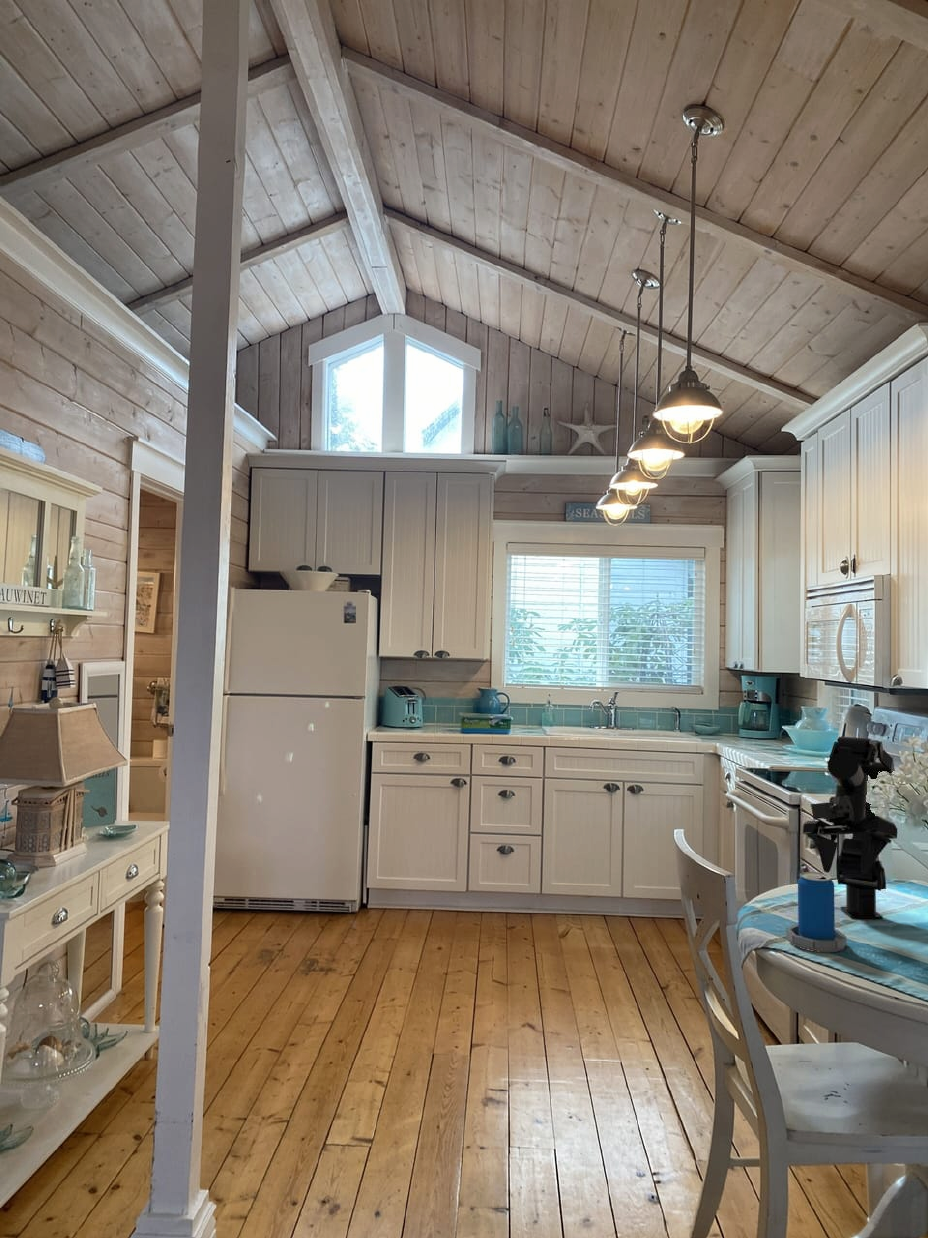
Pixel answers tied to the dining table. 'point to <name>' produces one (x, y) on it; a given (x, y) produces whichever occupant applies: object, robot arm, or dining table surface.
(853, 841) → the robot arm
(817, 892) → the beverage can
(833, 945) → the tray
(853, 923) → the dining table surface
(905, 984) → the dining table surface
